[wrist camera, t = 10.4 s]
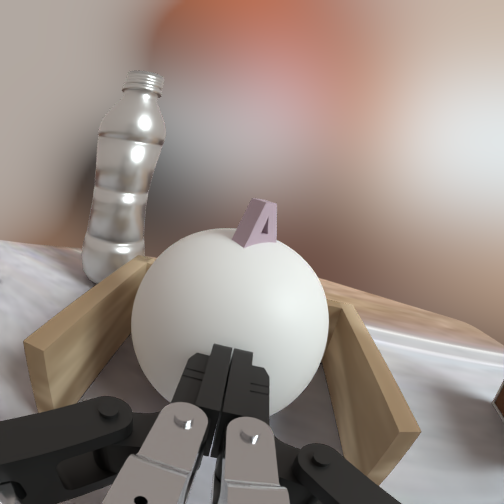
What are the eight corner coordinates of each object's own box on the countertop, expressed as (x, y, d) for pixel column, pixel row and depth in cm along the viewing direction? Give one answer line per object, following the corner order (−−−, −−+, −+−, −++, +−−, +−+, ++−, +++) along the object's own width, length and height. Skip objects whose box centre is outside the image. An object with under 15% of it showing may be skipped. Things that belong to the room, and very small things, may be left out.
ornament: (268, 487, 12) (369, 246, 9) (95, 399, 15) (103, 174, 12) (308, 381, 21) (363, 219, 18) (183, 333, 24) (212, 179, 21)
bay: (332, 356, 26) (352, 304, 24) (371, 493, 12) (421, 431, 11) (132, 310, 25) (138, 254, 24) (40, 418, 12) (23, 341, 10)
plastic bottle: (138, 270, 34) (172, 88, 29) (146, 298, 28) (187, 76, 23) (82, 266, 31) (112, 77, 26) (78, 294, 25) (113, 61, 20)
